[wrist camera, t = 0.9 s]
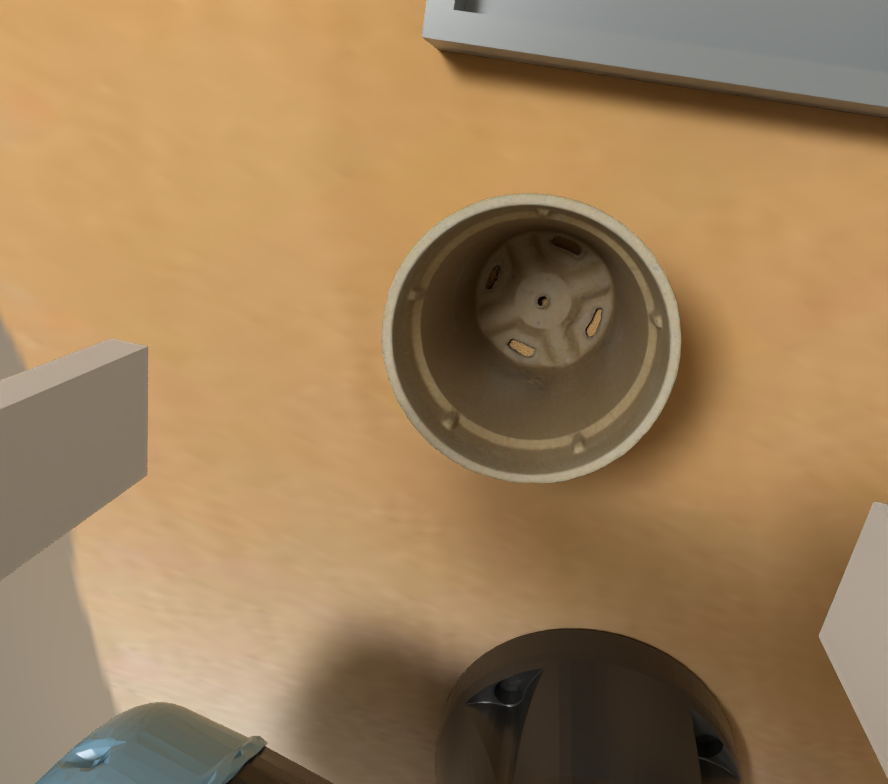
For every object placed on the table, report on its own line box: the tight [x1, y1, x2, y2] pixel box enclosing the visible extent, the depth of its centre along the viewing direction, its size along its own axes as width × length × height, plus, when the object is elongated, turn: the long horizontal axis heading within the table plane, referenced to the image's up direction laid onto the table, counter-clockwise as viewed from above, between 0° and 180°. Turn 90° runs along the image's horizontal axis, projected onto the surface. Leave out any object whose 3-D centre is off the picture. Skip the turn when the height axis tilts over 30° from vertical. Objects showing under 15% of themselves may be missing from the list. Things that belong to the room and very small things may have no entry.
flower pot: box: [382, 193, 681, 483], centre depth 26 cm, size 9×9×9 cm
